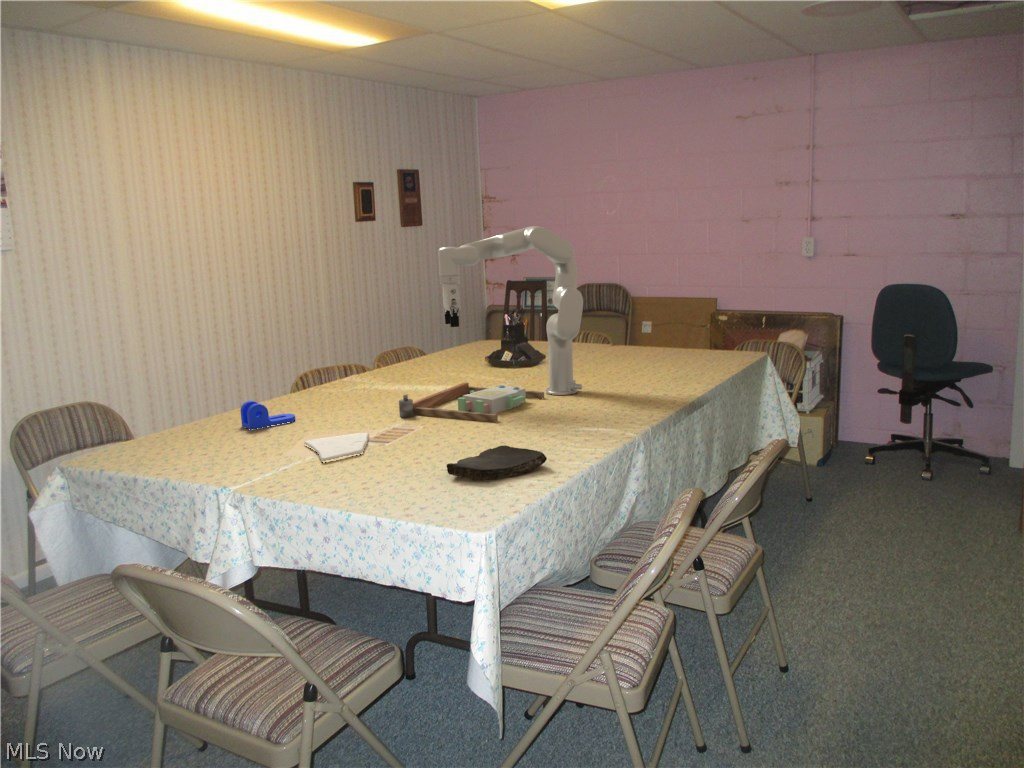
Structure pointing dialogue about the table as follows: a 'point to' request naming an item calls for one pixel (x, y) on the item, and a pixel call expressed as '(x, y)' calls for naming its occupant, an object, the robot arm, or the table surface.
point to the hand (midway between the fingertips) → (452, 325)
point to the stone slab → (497, 463)
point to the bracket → (261, 416)
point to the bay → (426, 404)
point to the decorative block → (492, 399)
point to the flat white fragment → (339, 445)
